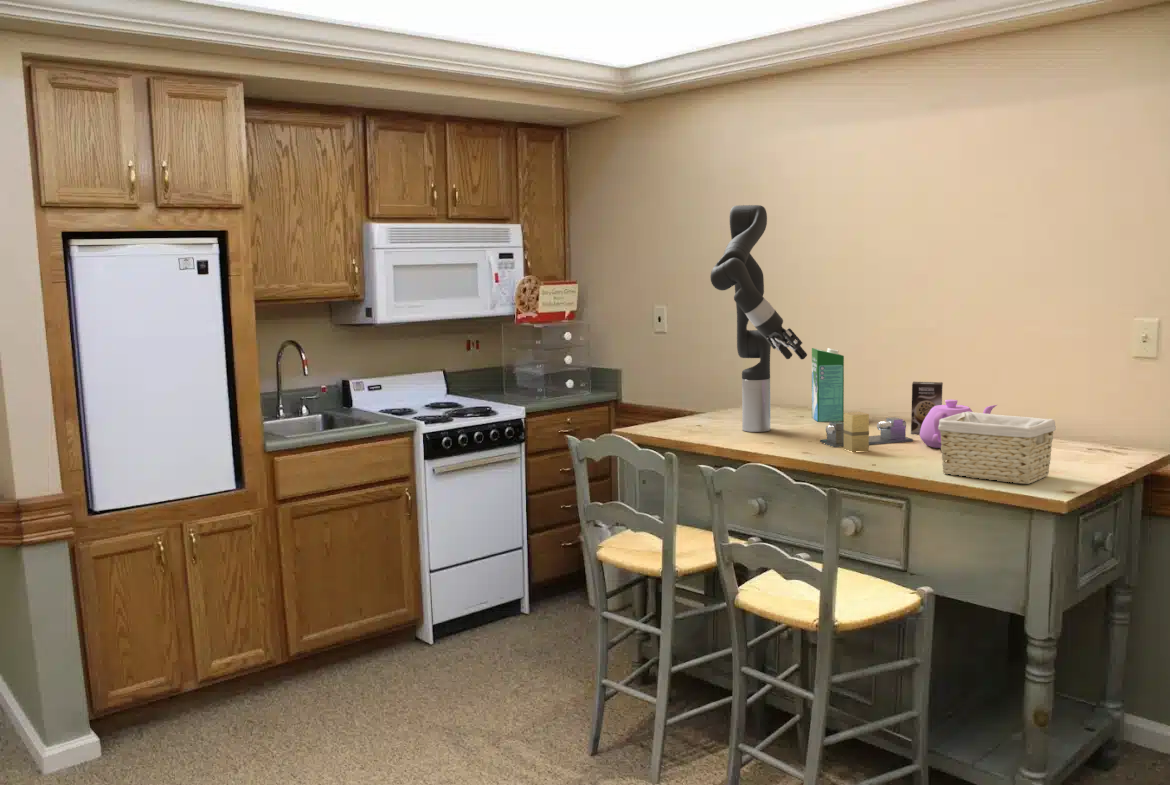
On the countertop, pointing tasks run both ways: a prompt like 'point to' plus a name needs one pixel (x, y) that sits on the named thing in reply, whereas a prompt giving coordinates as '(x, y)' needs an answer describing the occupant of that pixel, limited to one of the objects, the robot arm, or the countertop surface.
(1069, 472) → the countertop surface
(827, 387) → the milk carton
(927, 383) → the coffee box
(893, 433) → the shaft bench
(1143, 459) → the countertop surface
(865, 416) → the block
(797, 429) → the countertop surface
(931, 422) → the teapot
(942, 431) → the storage basket
